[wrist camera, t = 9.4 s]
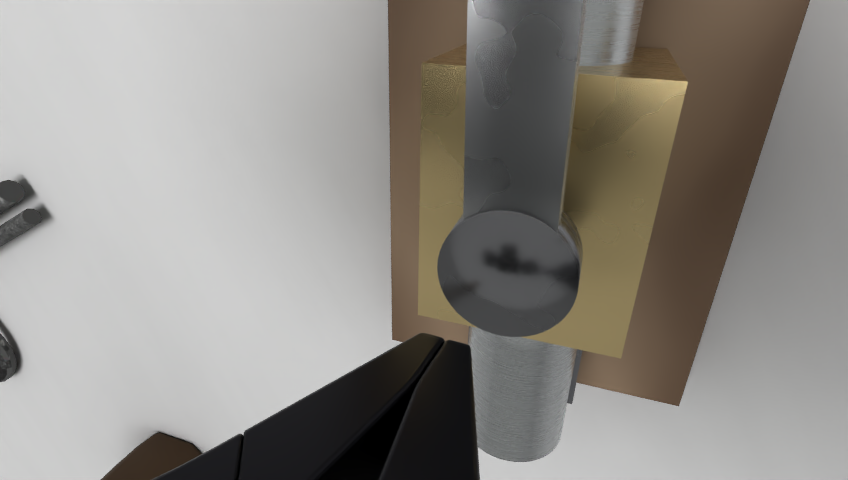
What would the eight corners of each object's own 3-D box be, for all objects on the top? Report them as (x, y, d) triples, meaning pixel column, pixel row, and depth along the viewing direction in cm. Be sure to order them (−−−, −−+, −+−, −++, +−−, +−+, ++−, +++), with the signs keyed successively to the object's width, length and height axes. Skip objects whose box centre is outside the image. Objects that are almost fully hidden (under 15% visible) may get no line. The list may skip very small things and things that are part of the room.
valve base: (857, -209, 13) (1169, -455, 6) (675, 380, 22) (702, 590, 14) (404, -178, 16) (223, -306, 9) (404, 321, 25) (312, 465, 18)
